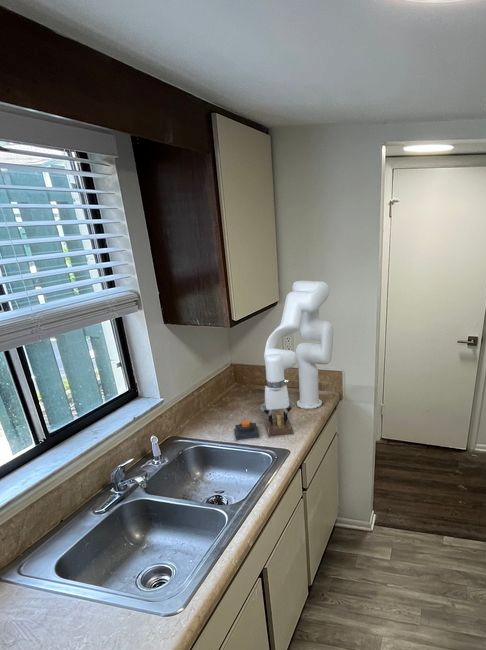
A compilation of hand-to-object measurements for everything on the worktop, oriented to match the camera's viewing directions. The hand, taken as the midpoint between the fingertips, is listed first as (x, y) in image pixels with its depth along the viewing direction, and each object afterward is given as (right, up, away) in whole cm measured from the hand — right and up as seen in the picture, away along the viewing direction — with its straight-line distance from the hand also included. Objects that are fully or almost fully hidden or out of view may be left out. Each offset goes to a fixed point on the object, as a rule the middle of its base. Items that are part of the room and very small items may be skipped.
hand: (278, 421), depth 191 cm
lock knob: (0, -1, 0) cm, 1 cm away
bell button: (-14, -2, -3) cm, 14 cm away
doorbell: (-14, -5, -2) cm, 14 cm away
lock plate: (0, -3, +2) cm, 4 cm away
